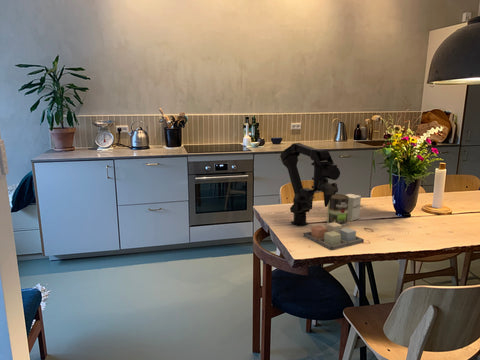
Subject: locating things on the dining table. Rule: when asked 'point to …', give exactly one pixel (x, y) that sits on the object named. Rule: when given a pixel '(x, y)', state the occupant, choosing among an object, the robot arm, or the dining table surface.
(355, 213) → the supplement box
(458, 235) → the dining table surface
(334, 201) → the coffee can
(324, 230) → the terracotta block
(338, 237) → the charcoal frame
